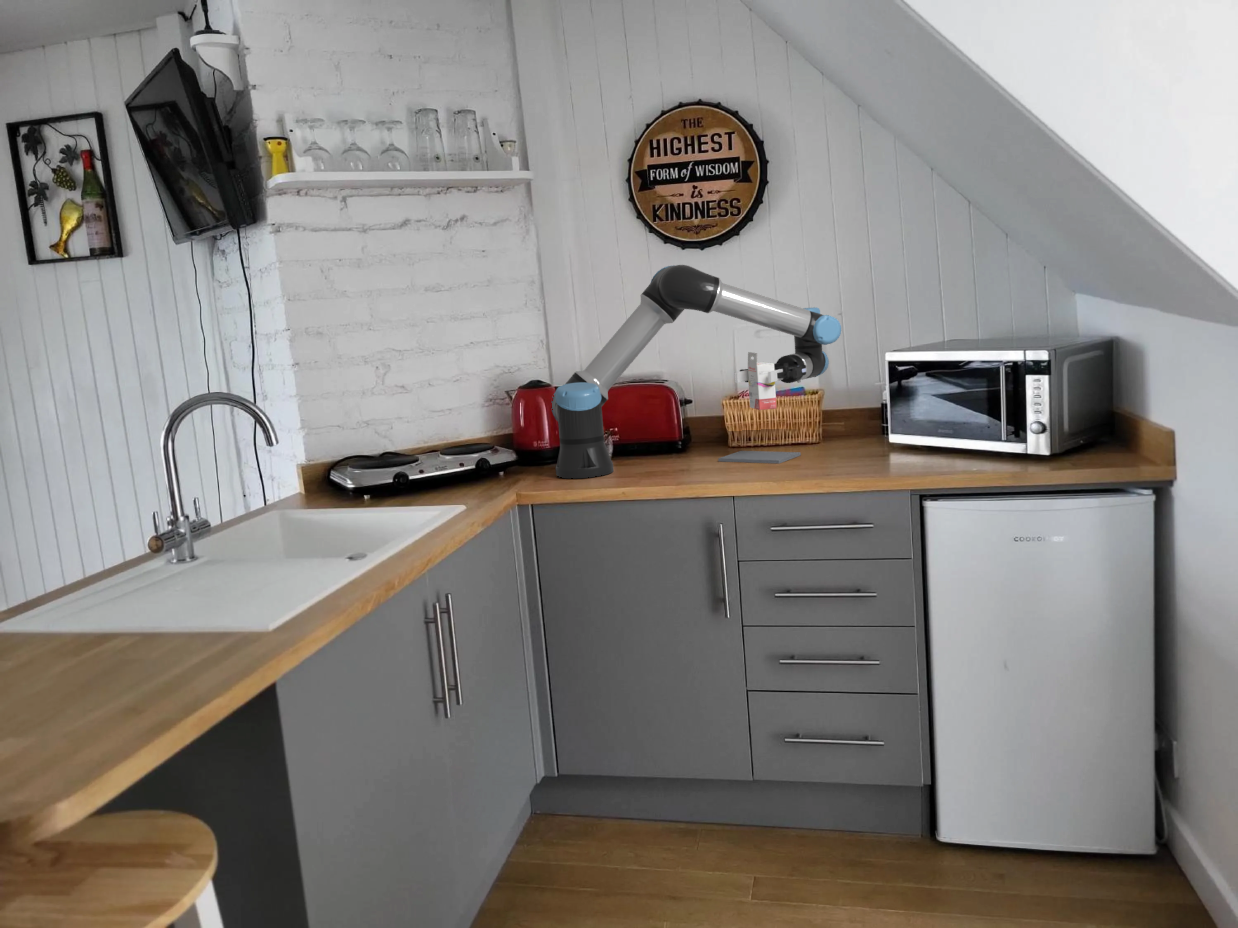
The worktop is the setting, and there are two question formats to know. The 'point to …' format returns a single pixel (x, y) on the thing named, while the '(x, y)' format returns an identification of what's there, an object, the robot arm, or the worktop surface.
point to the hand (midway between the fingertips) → (752, 377)
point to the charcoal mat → (759, 457)
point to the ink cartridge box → (760, 384)
